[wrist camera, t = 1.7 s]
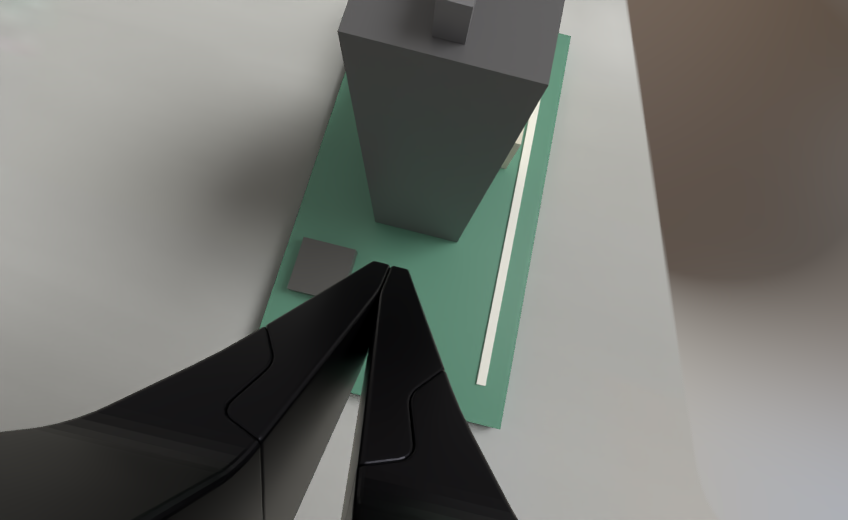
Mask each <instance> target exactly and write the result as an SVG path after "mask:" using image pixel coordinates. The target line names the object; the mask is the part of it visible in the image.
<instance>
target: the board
mask: <svg viewBox="0 0 848 520" xmlns="http://www.w3.org/2000/svg"><path fill="white" fill-rule="evenodd" d="M570 38H571V36H568V35H564V34H560V33H558V38H557V44H556V49H555V54H554V59H553V65H552V70H551V75H550V81H549V85H548V87H547V89H546V90H545V92H544V94H543V96H542V97H541V99H540V101H539V102H538V104H537V106H536V108H535V109H534V111H533V113H532V115H531V116H530V118H529V120H528V121H527V123H526V125H525V127H524V128H523V130H522V132H521V133H520V135H519V137H518V139H517V140H516V142H515V144H514V145H513V147H512V149H511V151H510V152H509V154H508V156H507V158H506V159H505V161H504V163H503V164H502V166H501V168H500V170H499V171H498V173H497V175H496V176H495V178H494V180H493V182H492V183H491V185H490V187H489V188H488V190H487V192H486V194H485V195H484V197H483V199H482V201H481V202H480V204H479V206H478V207H477V209H476V211H475V213H474V214H473V216H472V218H471V219H470V221H469V223H468V225H467V226H466V228H465V230H464V231H463V233H462V235H461V237H460V238H459V240H458V242H453V241H449V240H445V239H441V238H437V237H434V236H430V235H426V234H422V233H418V232H414V231H410V230H406V229H402V228H398V227H394V226H390V225H386V224H382V223H378V222H375V218H374V213H373V208H372V203H371V198H370V193H369V187H368V182H367V177H366V172H365V167H364V162H363V157H362V152H361V147H360V142H359V137H358V132H357V127H356V122H355V116H354V111H353V106H352V101H351V96H350V91H349V86H348V81H347V76H346V72H345V75H344V78H343V81H342V84H341V87H340V90H339V93H338V96H337V99H336V102H335V105H334V108H333V111H332V113H331V116H330V119H329V122H328V125H327V128H326V131H325V134H324V137H323V140H322V143H321V146H320V149H319V152H318V155H317V158H316V161H315V164H314V167H313V170H312V173H311V176H310V179H309V182H308V185H307V188H306V191H305V194H304V197H303V200H302V203H301V206H300V209H299V212H298V215H297V218H296V221H295V224H294V227H293V230H292V233H291V236H290V239H289V242H288V245H287V248H286V251H285V254H284V257H283V260H282V263H281V266H280V269H279V272H278V274H277V277H276V280H275V283H274V286H273V289H272V292H271V295H270V298H269V301H268V304H267V307H266V310H265V313H264V316H263V319H262V322H261V325H260V328H262V327H266V325H267V324H269V323H270V322H272V321H274V320H275V319H277V318H279V317H280V316H282V315H284V314H285V313H287V312H289V311H290V310H292V309H294V308H295V307H297V306H299V305H300V304H302V303H304V302H305V301H307V300H309V299H310V298H312V297H314V296H315V295H317V294H319V293H320V292H322V291H324V290H325V289H327V288H329V287H330V286H332V285H334V284H335V283H337V282H339V281H340V280H342V279H344V278H345V277H347V276H349V275H350V274H352V273H354V272H355V271H357V270H359V269H360V268H362V267H364V266H365V265H367V264H369V263H371V262H372V261H377V262H381V263H385V264H388V265H389V266H390V268H391V267H392V266H397V267H401V268H405V269H408V270H409V272H410V275H411V278H412V280H413V283H414V286H415V289H416V291H417V294H418V297H419V300H420V302H421V305H422V308H423V311H424V313H425V316H426V319H427V322H428V324H429V327H430V330H431V333H432V335H433V338H434V341H435V344H436V346H437V349H438V352H439V355H440V357H441V360H442V363H443V366H444V368H445V372H446V373H447V376H448V379H449V382H450V384H451V387H452V390H453V392H454V394H455V397H456V399H457V402H458V404H459V407H460V409H461V411H462V413H463V415H464V417H465V419H466V421H468V422H472V423H476V424H480V425H484V426H488V427H492V428H496V429H500V427H501V422H502V416H503V411H504V405H505V399H506V394H507V388H508V383H509V377H510V372H511V366H512V361H513V355H514V349H515V344H516V338H517V333H518V327H519V322H520V316H521V310H522V305H523V299H524V294H525V288H526V283H527V277H528V272H529V266H530V260H531V255H532V249H533V244H534V238H535V233H536V227H537V222H538V216H539V210H540V205H541V199H542V194H543V188H544V183H545V177H546V171H547V166H548V160H549V155H550V149H551V144H552V138H553V133H554V127H555V121H556V116H557V110H558V105H559V99H560V94H561V88H562V82H563V77H564V71H565V66H566V60H567V55H568V49H569V44H570ZM260 328H259V329H260ZM367 356H368V354H367ZM366 361H367V357H366V359H365V362H364V364H363V366H362V369H361V371H360V373H359V375H358V377H357V380H356V382H355V384H354V386H353V389H352V391H351V393H353V394H358V395H361V391H362V385H363V379H364V372H365V366H366Z"/></svg>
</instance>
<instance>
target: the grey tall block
mask: <svg viewBox="0 0 848 520" xmlns="http://www.w3.org/2000/svg"><path fill="white" fill-rule="evenodd" d="M564 1H565V0H348V3H347V6H346V9H345V11H344V14H343V17H342V20H341V23H340V26H339V29H338V35H339V40H340V46H341V51H342V56H343V61H344V66H345V71H346V76H347V81H348V86H349V91H350V96H351V101H352V106H353V111H354V116H355V122H356V127H357V132H358V137H359V142H360V147H361V152H362V157H363V162H364V167H365V172H366V177H367V182H368V187H369V193H370V198H371V203H372V208H373V213H374V218H375V222H378V223H382V224H386V225H390V226H394V227H398V228H402V229H406V230H410V231H414V232H418V233H422V234H426V235H430V236H434V237H437V238H441V239H445V240H449V241H453V242H458V240H459V238H460V237H461V235H462V233H463V231H464V230H465V228H466V226H467V225H468V223H469V221H470V219H471V218H472V216H473V214H474V213H475V211H476V209H477V207H478V206H479V204H480V202H481V201H482V199H483V197H484V195H485V194H486V192H487V190H488V188H489V187H490V185H491V183H492V182H493V180H494V178H495V176H496V175H497V173H498V171H499V170H500V168H501V166H502V164H503V163H504V161H505V159H506V158H507V156H508V154H509V152H510V151H511V149H512V147H513V145H514V144H515V142H516V140H517V139H518V137H519V135H520V133H521V132H522V130H523V128H524V127H525V125H526V123H527V121H528V120H529V118H530V116H531V115H532V113H533V111H534V109H535V108H536V106H537V104H538V102H539V101H540V99H541V97H542V96H543V94H544V92H545V90H546V89H547V87H548V85H549V81H550V75H551V70H552V65H553V59H554V54H555V49H556V44H557V38H558V33H559V28H560V23H561V17H562V12H563V7H564Z"/></svg>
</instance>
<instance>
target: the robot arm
mask: <svg viewBox="0 0 848 520" xmlns="http://www.w3.org/2000/svg"><path fill="white" fill-rule="evenodd" d="M367 354H368V356H367ZM366 357H367V361H366V366H365V372H364V379H363V385H362V391H361V397H360V404H359V410H358V416H357V423H356V429H355V435H354V441H353V448H352V454H351V460H350V467H349V473H348V479H347V485H346V492H345V498H344V504H343V510H342V517H341V520H518V519H517V517H516V515H515V514H514V512H513V510H512V509H511V507H510V505H509V503H508V501H507V499H506V497H505V495H504V494H503V492H502V490H501V488H500V486H499V484H498V482H497V480H496V478H495V476H494V474H493V472H492V470H491V469H490V467H489V465H488V463H487V461H486V459H485V457H484V455H483V453H482V451H481V449H480V447H479V445H478V444H477V442H476V440H475V438H474V436H473V434H472V432H471V430H470V428H469V426H468V424H467V422H466V419H465V417H464V415H463V413H462V411H461V409H460V407H459V404H458V402H457V399H456V397H455V394H454V392H453V390H452V387H451V384H450V382H449V379H448V376H447V373H446V372H445V368H444V366H443V363H442V360H441V357H440V355H439V352H438V349H437V346H436V344H435V341H434V338H433V335H432V333H431V330H430V327H429V324H428V322H427V319H426V316H425V313H424V311H423V308H422V305H421V302H420V300H419V297H418V294H417V291H416V289H415V286H414V283H413V280H412V278H411V275H410V272H409V270H408V269H405V268H401V267H397V266H392V267H391V268H390V266H389V265H388V264H385V263H381V262H377V261H372V262H371V263H369V264H367V265H365V266H364V267H362V268H360V269H359V270H357V271H355V272H354V273H352V274H350V275H349V276H347V277H345V278H344V279H342V280H340V281H339V282H337V283H335V284H334V285H332V286H330V287H329V288H327V289H325V290H324V291H322V292H320V293H319V294H317V295H315V296H314V297H312V298H310V299H309V300H307V301H305V302H304V303H302V304H300V305H299V306H297V307H295V308H294V309H292V310H290V311H289V312H287V313H285V314H284V315H282V316H280V317H279V318H277V319H275V320H274V321H272V322H270V323H269V324H267V325H266V327H262V328H260V329H258V330H257V331H255V332H253V333H252V334H250V335H248V336H247V337H245V338H243V339H241V340H239V341H238V342H236V343H234V344H232V345H231V346H229V347H227V348H225V349H223V350H222V351H220V352H218V353H216V354H214V355H212V356H210V357H208V358H206V359H204V360H202V361H200V362H198V363H196V364H194V365H192V366H190V367H188V368H186V369H183V370H181V371H179V372H177V373H175V374H173V375H171V376H169V377H167V378H165V379H163V380H160V381H158V382H156V383H154V384H152V385H150V386H148V387H146V388H144V389H142V390H140V391H137V392H135V393H133V394H131V395H129V396H127V397H125V398H123V399H121V400H119V401H117V402H114V403H112V404H110V405H108V406H106V407H103V408H101V409H99V410H97V411H94V412H92V413H89V414H86V415H84V416H81V417H78V418H75V419H72V420H68V421H65V422H61V423H58V424H53V425H48V426H43V427H37V428H30V429H22V430H13V431H5V432H0V520H294V517H295V515H296V513H297V511H298V509H299V506H300V504H301V502H302V500H303V497H304V495H305V493H306V491H307V489H308V486H309V484H310V482H311V480H312V477H313V475H314V473H315V471H316V469H317V466H318V464H319V462H320V460H321V457H322V455H323V453H324V451H325V449H326V446H327V444H328V442H329V440H330V437H331V435H332V433H333V431H334V429H335V426H336V424H337V422H338V420H339V417H340V415H341V413H342V411H343V409H344V406H345V404H346V402H347V400H348V397H349V395H350V393H351V391H352V389H353V386H354V384H355V382H356V380H357V377H358V375H359V373H360V371H361V369H362V366H363V364H364V362H365V359H366Z"/></svg>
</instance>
